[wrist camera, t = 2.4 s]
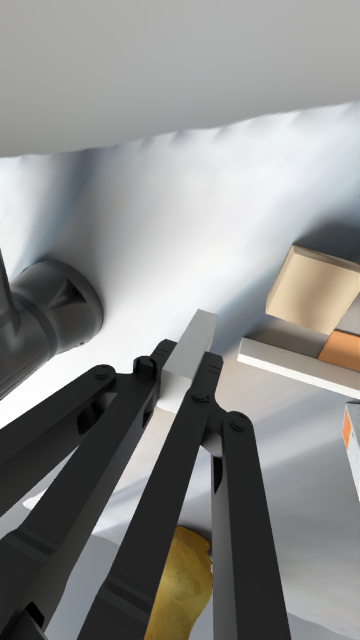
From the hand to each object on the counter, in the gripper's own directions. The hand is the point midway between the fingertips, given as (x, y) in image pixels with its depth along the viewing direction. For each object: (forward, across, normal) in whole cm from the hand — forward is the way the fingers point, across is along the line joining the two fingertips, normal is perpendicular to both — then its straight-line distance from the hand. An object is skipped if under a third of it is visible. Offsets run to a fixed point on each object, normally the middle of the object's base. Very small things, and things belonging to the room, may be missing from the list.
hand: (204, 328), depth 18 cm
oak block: (+16, +9, 0) cm, 18 cm away
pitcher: (+16, +7, -82) cm, 83 cm away
